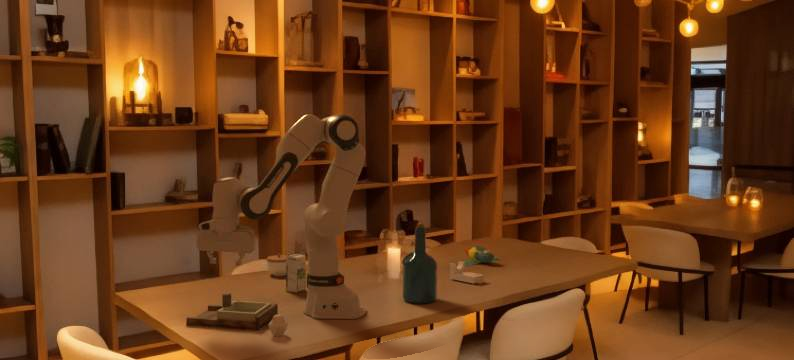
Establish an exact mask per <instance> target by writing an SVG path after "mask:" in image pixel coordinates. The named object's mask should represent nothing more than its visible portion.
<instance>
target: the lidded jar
mask: <svg viewBox="0 0 794 360" xmlns="http://www.w3.org/2000/svg"><path fill="white" fill-rule="evenodd" d="M287 256H288V255H285V254H284V255H283V254H281V253H277V255H269V256H267V257H266V265H267V269H268V272H270V274H271V275H272V276H273V277H282V276H286V257H287Z"/></svg>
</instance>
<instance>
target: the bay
mask: <svg viewBox="0 0 794 360" xmlns="http://www.w3.org/2000/svg"><path fill="white" fill-rule="evenodd" d="M278 306H279V305H278V303H273V304H271V306H270V307H269V308H267V309H266V310H265V311H263V312H262V313H260V314H259V315H257V316H256V317H255V322H252V321H238V320H224V319H217V311H218V310H219V309H221V308H223V305H219V304H217V305H215V304H208V305H207V310H205V311H204V312H202V313H200V314H198V315H197V316H194V317H192V316H187V317H186V319H185V322H186V326H192V327H193V326H194V327H207V328H222V329H233V330H234V329H235V330H246V329H248V330H249V331H260V330H261V328H262V329H263V328H264V327H266V326H267V325H269V323H270V322H271V320H272V318H273V316H274V315H279V314H278V312H279V311H278Z"/></svg>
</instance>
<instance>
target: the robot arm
mask: <svg viewBox="0 0 794 360" xmlns="http://www.w3.org/2000/svg"><path fill="white" fill-rule="evenodd" d="M359 138H360V137H359V126H358V123H357V121H356V120H355V119H354V118H353V117H351V116H349V115H347V114H340V113H339V114H332V115H328V116H326V117H322V118H319V117H318V116H316V115H314V114H311V113H307V114H304V115H303V116H302V117H300V118H299V119H298V120H297V121H296V122H295V123H293V125H292V126H290V128H289V129H287V131H286V132H285V133H284V135H283V136H282V138H281V139H280V141H279V142H278V144H277V146H276V148H275V149H276V150H275V154H276V155H275V162H274V164H273V166H272V168H271V169H270V170H269V172H268V173H267V175H266V176H265V177H264V179H263V180H261V183H259V185H258V186H253V185H250V184H248V183H245V182H243V181H241V180H239V179H238V178H237V177H234V176H230V177H229V176H228V177H223V178H220V179H218V180H216V181H215V183H214V184H213V187H212V188H213V189H212V190H213V191H212V207H213V212H212V219H209V220H207V221H204V222H201V223H199V224H198V229H199V231H198V232H197V236H196V248H197V250H198V251H200V252H201V251H203V252H204V251H206V255H207V256H208V258H209V264H210V265H215V264H217V257H214V252H218V253H219V252H220V253H222V252H223V253H237V254H238V256H239V258H238V259H236V260H235V266H237V267H238V266H239V267H240V266H242V263H243V261H242V260H244V257H245V256H246V254H252V253H253V252H254V251H256V245H255V244H256V243H255V236H256V235H255V233H256V232H255V229H254V228H253V227H251V226H249V225H240V214H243V216H245V217H246V218H248V219H250V220H252V221H253V220H254V221H256V220H257V221H258V220H261V219H264V218H266V217H267V216H268V215H269V213H270V212H271V210H272V207H273V203H274V199H275V197H276V196H277V194H278V193H279V192H280V191H281V189H282V188H283V186H284V185H285V184H286V182H287V181H288V179H289V178H290V176H291V175H292V174H293V173H294V172H295V170H297V168H298V167H299V166H300V165H301V164H302V163H303V162H304V161H305V160H306V159H307V158H308V157H309V155H310V154H312V152H313V151H314V149H315V148H316V146H318V145H319V144H320V143H321V142H323V143H325V144H328V145H332V146H334V148H335V151H334V157H333V159H332V162H331V163H330V165H329V168H328V170H327V173H326V176H325V177H324V179H323V182H322V184H321V190H320V191H321V192H320V196H319V200H318V202H317V203H316V202H315V203H312V204H310V205H309V206H307V207H306V209H305V211H304V213H303V222H304V231H305V239H306V240H305V241H306V245H307V259H308V260H307V272H306V273H307V274H306V289H307V292H306V293H307V294H306V301H305V305H304V308H303V313H304V314H305V315H308V316H310V317H312V318H313V319H327V320H328V319H329V320H330V319H331V320H332V319H335V320H336V319H338V320H340V319H343V320H345V319H346V320H349V319H350V320H355V319H359V318H361V317H363V316H364V315H365V314H366V313H367V308H366V307H365V306H364V305H361V303H360V302H361V301H360V298H359V294H358V293H357V292H356V291H354V290H353V289H351V287H349V286H348V285H347V284H346V283H345V278H346V277H345V276H346V275H345V274H343V275H342V274H341V273H340V271H339V269H340V266H339V265H340V259H339V258H340V256H339V255H340V252H339V248H338V244H337V243H338V242H337V237H338V236H340V235H341V234H342V233H343V231H344V229H345V227H346V226H345V224H346V222H345V221H346V217H347V212H348V207H349V204H350V201H351V200H350V199H351V196H352V195H353V193H354V192H353V191H354V189H355V187H356V185H357V182H358V179H359V177H360V175H361V173H362V169H363V167H364V163H365V159H366V155H367V152H366V149H365V148H364V146H363V145H362V144H361V143H360V139H359Z"/></svg>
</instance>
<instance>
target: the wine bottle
mask: <svg viewBox="0 0 794 360" xmlns="http://www.w3.org/2000/svg"><path fill="white" fill-rule="evenodd" d="M426 232H427V231H426V227H425V223H423V222H420V223H417V224H416V226H415V229H414V252H413V251H411V252H410V253H408V254H407V255H405V257H404V258H403V259H402V262H401V264H402V298H403V301H404V302H407V303H410V304H417V305H425V304H426V305H427V304H432V303H434V302H435V301H436V300H437V299H438V298H437V294H438V293H437V291H438V288H437V287H438V282H437V281H438V263H437V261H436V259H435V258H434V257H433V256H431V255H430V254H428V253H427V249H426V248H427V247H426V244H427V243H426V242H427V241H426V236H427V233H426Z"/></svg>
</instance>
